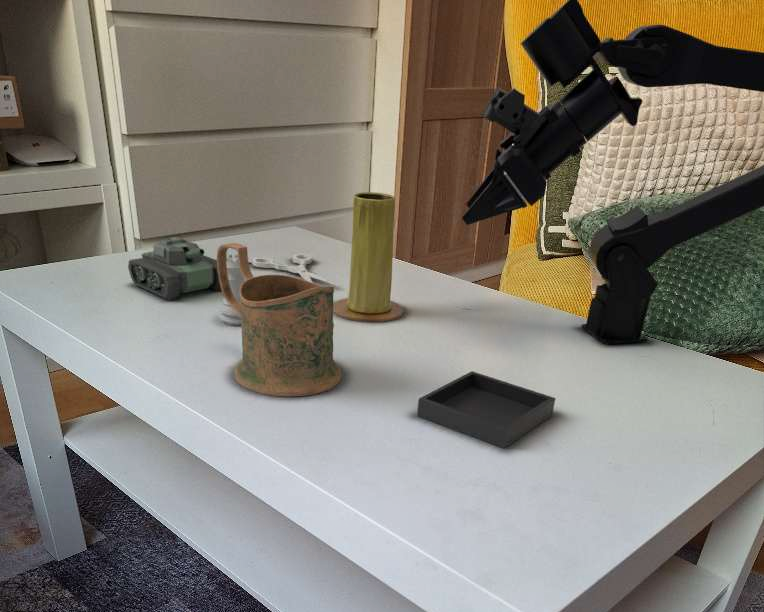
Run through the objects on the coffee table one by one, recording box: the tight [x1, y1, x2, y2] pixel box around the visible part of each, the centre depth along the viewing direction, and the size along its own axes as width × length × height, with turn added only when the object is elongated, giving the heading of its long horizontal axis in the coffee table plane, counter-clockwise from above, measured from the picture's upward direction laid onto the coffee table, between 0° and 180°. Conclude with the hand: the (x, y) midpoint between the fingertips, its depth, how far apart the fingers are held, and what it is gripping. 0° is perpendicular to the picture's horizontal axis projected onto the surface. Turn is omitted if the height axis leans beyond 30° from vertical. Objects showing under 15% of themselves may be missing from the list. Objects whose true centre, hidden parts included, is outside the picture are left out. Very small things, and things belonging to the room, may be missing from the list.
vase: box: [347, 191, 396, 314], centre depth 97 cm, size 6×6×14 cm
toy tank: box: [127, 236, 222, 301], centre depth 103 cm, size 10×12×7 cm
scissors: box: [248, 253, 340, 287], centre depth 113 cm, size 11×1×20 cm
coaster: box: [333, 297, 404, 323], centre depth 101 cm, size 10×10×1 cm
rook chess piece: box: [219, 253, 245, 326], centre depth 92 cm, size 4×4×8 cm
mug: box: [216, 242, 342, 397], centre depth 79 cm, size 12×18×12 cm, turn 44°
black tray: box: [416, 370, 556, 449], centre depth 74 cm, size 10×10×2 cm
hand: (466, 214), depth 92 cm, fingers open, 9 cm apart
